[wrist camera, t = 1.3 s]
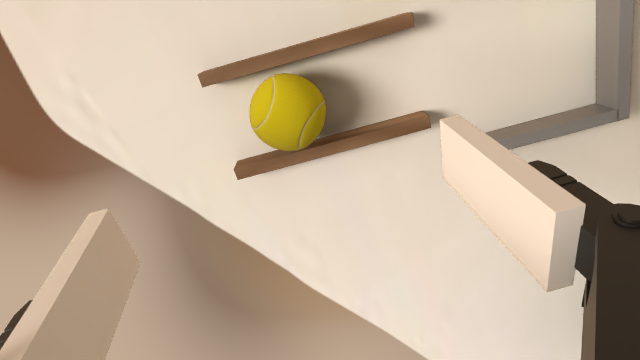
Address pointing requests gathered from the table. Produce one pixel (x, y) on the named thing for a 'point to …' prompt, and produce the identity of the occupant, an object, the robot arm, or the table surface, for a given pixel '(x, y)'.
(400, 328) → the table surface
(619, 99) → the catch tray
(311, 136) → the tennis ball
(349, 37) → the chute
